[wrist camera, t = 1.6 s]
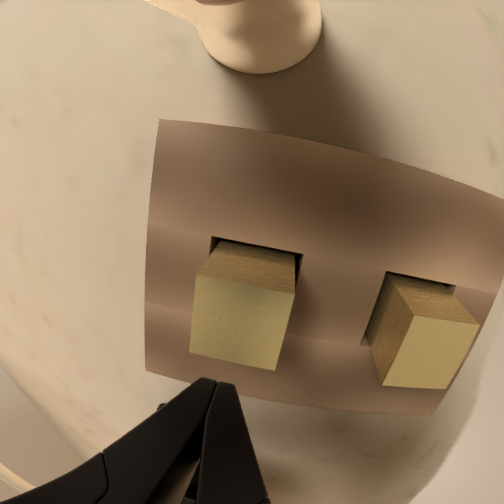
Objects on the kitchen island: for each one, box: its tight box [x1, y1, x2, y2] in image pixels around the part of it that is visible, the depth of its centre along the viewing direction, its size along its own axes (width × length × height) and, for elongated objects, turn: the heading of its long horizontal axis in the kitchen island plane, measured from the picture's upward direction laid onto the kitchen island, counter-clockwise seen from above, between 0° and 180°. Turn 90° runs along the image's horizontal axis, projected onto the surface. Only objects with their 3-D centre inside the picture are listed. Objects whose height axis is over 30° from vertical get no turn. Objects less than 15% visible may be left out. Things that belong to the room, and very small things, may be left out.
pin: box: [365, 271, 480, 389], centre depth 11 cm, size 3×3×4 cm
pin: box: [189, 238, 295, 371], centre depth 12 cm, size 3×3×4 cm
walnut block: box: [145, 119, 504, 415], centre depth 14 cm, size 12×16×4 cm
